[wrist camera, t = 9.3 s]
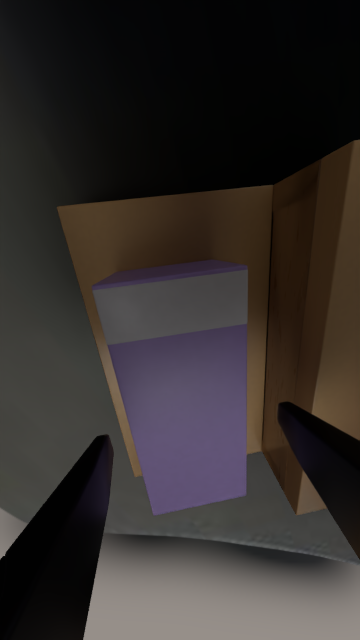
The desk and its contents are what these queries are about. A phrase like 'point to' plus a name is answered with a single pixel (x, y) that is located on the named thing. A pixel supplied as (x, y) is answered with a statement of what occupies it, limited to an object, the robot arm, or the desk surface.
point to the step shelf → (254, 290)
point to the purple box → (182, 376)
